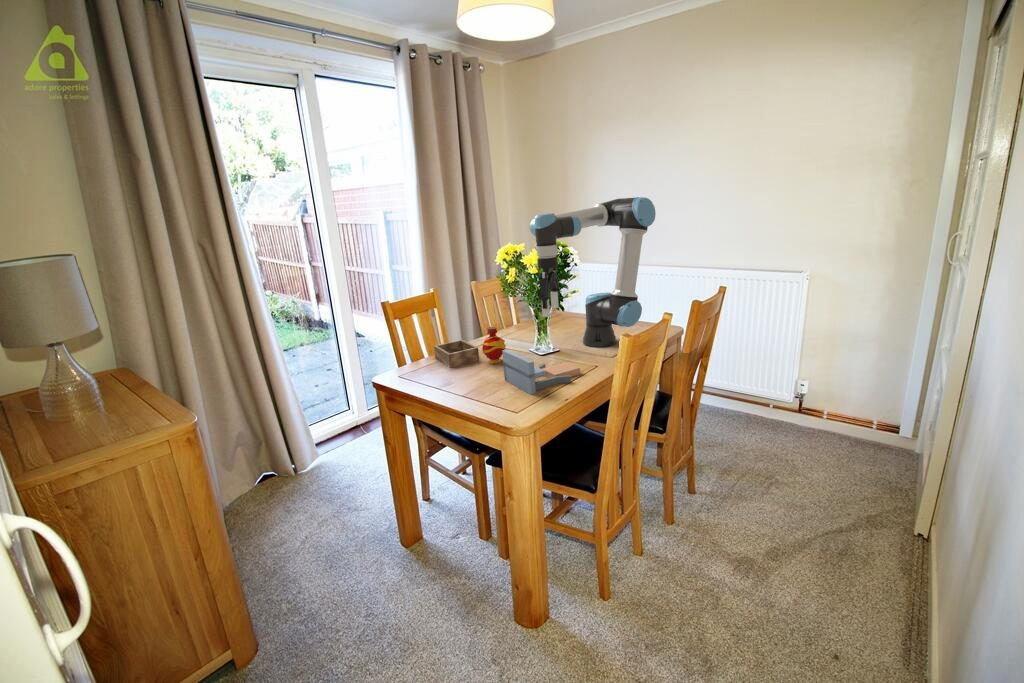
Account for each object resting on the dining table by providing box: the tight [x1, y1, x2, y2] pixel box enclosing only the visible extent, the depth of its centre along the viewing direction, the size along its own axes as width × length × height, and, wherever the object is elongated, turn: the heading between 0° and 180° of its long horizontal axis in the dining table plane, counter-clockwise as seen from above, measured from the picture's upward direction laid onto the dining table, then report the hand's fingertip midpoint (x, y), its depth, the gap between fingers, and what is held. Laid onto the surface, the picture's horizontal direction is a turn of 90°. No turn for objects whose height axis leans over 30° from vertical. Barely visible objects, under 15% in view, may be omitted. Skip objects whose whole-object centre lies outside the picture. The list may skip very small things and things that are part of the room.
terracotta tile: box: [542, 361, 581, 379], centre depth 186 cm, size 12×9×3 cm
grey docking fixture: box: [502, 348, 572, 396], centre depth 179 cm, size 18×19×12 cm
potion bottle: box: [482, 326, 507, 364], centre depth 205 cm, size 10×10×15 cm
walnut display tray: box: [433, 339, 480, 369], centre depth 212 cm, size 14×17×6 cm
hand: (550, 312), depth 183 cm, fingers open, 13 cm apart
